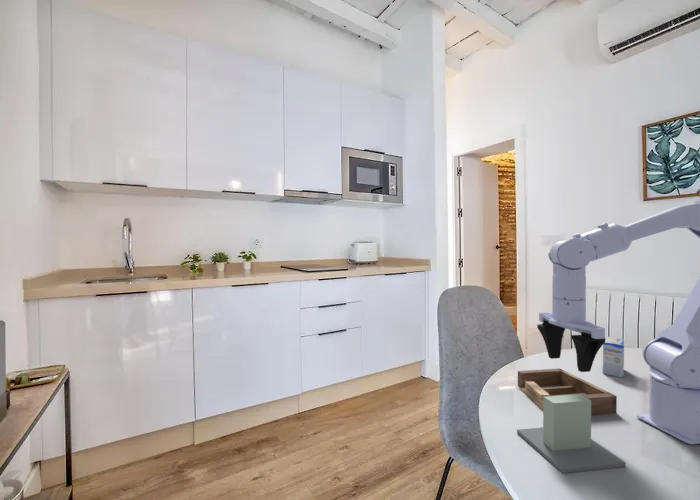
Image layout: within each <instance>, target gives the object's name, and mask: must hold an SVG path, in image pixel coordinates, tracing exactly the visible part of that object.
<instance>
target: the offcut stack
mask: <svg viewBox="0 0 700 500" xmlns="http://www.w3.org/2000/svg"><path fill="white" fill-rule="evenodd" d="M542 388H543V387H542V386H538V385H537V384H536V383H535V382H525V387H523V388H522V387H521V392H523V393H524V394H525V395H526V396H527V397H528V399H530V400H531V401H532V402H533V403H534V404H535V405H537V407H539V408H540V409H541V410H542V411H543V397H548V396H550V394H548V393H547V392H546V391H545V390H543V389H542Z"/></svg>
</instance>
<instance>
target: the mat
mask: <svg viewBox="0 0 700 500" xmlns="http://www.w3.org/2000/svg"><path fill="white" fill-rule="evenodd" d="M516 433H517V434H518V435H519V436H520V437H521V438H522V439H523V440H524V441H526V442H527V443H528V444H529V445H530V446H531V447H533V449H535V450H536V451H537V452H538V453H539V454H540V455H541V456H543V457H544V458H545V459H546V460H547V461H548V462H549V463H550V464H552V465H553V466H554V467H555V468H556V469H557V470H559V471H560V472H561V473H562V474H569V473H577V472H587V471H594V470H595V471H596V470H604V469H613V468H623V467H627V466H626V465H627V463H626V461H624V460H622V459H621V458H620V457H618V456H617V455H616V454H614V453H612V452H611V451H609V450H608V449H606V448H605V447H603V446H602V445H600V444H599V443H598V442H597V441H594V439H592V438H591V447H588V448H578V449H568V450H558V451H553V450H552V449H551V448H549V447H548V446H547V445H546V444H544V443H543V426H542V427H534V428H533V427H532V428H521V429H516Z"/></svg>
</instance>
